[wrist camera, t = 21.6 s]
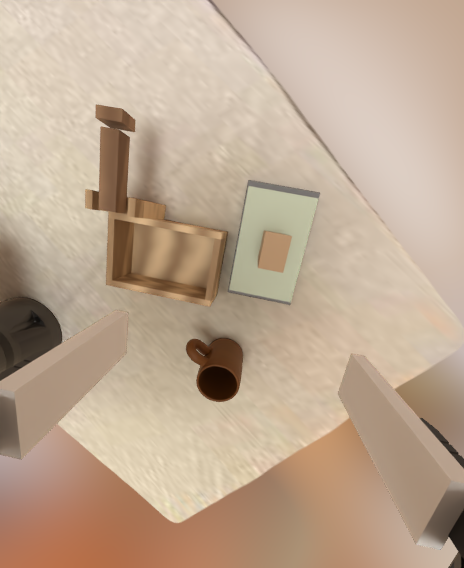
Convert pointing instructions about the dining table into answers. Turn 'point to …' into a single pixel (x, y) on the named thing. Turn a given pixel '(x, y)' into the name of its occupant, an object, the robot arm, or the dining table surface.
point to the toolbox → (161, 253)
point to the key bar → (114, 158)
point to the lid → (272, 243)
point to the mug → (217, 368)
